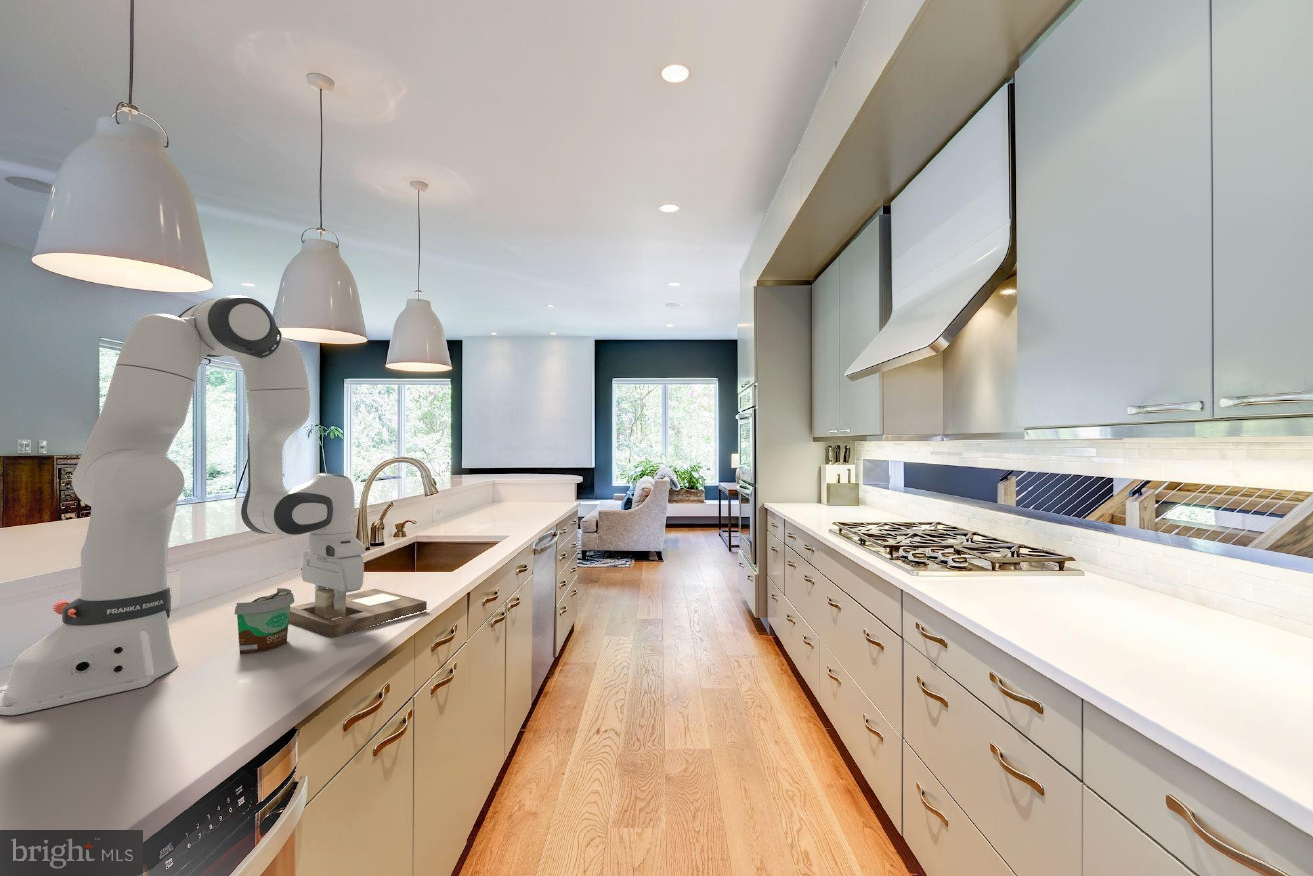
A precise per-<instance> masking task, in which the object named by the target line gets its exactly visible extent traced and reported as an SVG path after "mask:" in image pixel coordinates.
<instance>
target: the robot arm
mask: <svg viewBox="0 0 1313 876" xmlns="http://www.w3.org/2000/svg"><path fill="white" fill-rule="evenodd" d="M282 336H283V335H282V331H281V330H280V329H279V327H278V326H277V323H276V320H275V318H274V316H273V314H272V313H271V311H270V310H269V309H268V307H266V306H265V305H264V303H262V302H260V301H259V300H257V299H254V298H253V297H252V298H251V297H248V296H242V295H228V296H224V297H221V298H220V297H219V298H218V297H217V298H211V299H208V300H204V301H202V302H200V303H198V304H195V305H193V306H191V307H188V308H186V310H184V311H183V312H182V313H180V314H179V315H178V316H175V315H171V314H166V313H149V314H147V315H143V316H142V317H140V318H138V319H137V320H136V322H135V323H134V324H133V326H132V328H131V329H130V330H129V333H128V334H127V336H126V338H125V341H124V342H123V345H122V347H121V349H120V351H119V354H118V357H117V360H116V363H115V367H114V370H113V373H112V377H111V380H110V383H109V386H108V390H107V393H106V397H105V400H104V403H103V406H102V410H101V412H100V414H99V417H98V419H97V420H96V422H95V424H94V427H93V429H92V431H91V432H90V435H89V438H88V439H87V441H86V443H85V446H84V448H83V451H82V453H81V456H80V458H79V461H78V463H77V466H76V468H75V469H74V471H73V473H72V477H71V485H72V489H73V491H74V494H75V495H76V496H77V497H78V499H79V500H80V501H81V502H82V503H84V504H86V505H87V506H89V507H91V508H90V510H91V511H90V517H89V523H88V526H87V532H86V536H85V539H84V542H83V543H84V544H83V546H82V547H81V550H80V581H79V583H80V584H79V586H80V587H79V591H80V592H79V593H80V594H79V597H78V598H76V599H74V600H73V601H71V602H69V601H67V600H59V601H57V602H55V604H54V605H53V607H52V611H53V612H55V613H56V614H58V615H61V616H62V617H61V618H62V619H61V621H62V622H61V623H63V624H61V625H60V626H58V627H57V628H55V629H54V630H52V631H50V633H48V634H47V635H45V636H44V637H43V638H41V639H40V640H38V641H37V642H35V643H34V644H33V645H31V646H29V647H28V648H26V649H25V650H23V651H22V652H20V654H18V656H17V657H16V659H15V660H14V662H13V665H12V666H11V669H10V673H9V677H8V681H7V684H6V685H2V686H0V715H2V716H15V715H22V714H27V713H32V712H36V711H41V710H43V709H48V708H49V709H50V708H53V707H58V706H63V705H67V704H72V703H76V702H81V701H85V700H90V699H94V698H99V697H103V696H108V695H113V694H116V693H121V692H125V691H130V690H131V691H132V690H134V689H138V688H143V687H146V686H148V685H150V684H152V683H153V682H154V680H156V679H158V678H159V677H162V676H164V675H165V674H168V673H169V672H172V671H173V670H174V669H176V668H177V666H178V664H179V661H178V660H177V657H176V654H175V652H174V649H173V644H172V639H171V638H172V637H171V633H170V627H169V625H170V624H169V618H170V617H171V611H172V594H171V588H170V587H169V586H168V563H169V561H168V559H169V558H168V557H169V556H168V555H169V544H170V543H169V542H170V537H171V536H170V535H171V532H172V527H173V523H174V519H175V516H176V510H177V507H178V506H177V505H178V501H179V498H180V496H181V494H182V493H183V491H184V488H185V477H184V473H183V471H182V470H181V468H180V467H179V466H178V465H177V463H176V462H174V461H173V460H172V459H170V458H169V457H168V456H167V454H168V452H169V450H170V448H171V446H172V444H173V442H174V440H175V439H176V436H177V435H178V433H179V431H181V429H182V428H183V426H184V425H185V422H186V418H187V416H188V412H189V407H190V405H191V401H192V396H193V393H194V389H195V385H196V381H197V377H198V373H199V367H200V366H201V364H202V362H203V360H204V359H205V358H206V357H207V358H219V357H224V356H226V357H234V359H235V360H236V361H237V362H238V363H239V365H240V366H241V368H242V371H243V374H244V376H245V377H244V378H245V379H244V380H245V391H246V402H247V403H246V404H247V414H248V425H247V427H248V428H247V447H246V448H247V488H246V489H247V490H246V493H245V496H244V499H243V501H242V505H241V509H240V515H241V519H242V522H243V523H244V525H245V526H246V527H247V528H248V529H249V530H250V531H252V532H253V533H254V532H255V533H258V534H262V535H267V534H268V535H270V534H272V535H273V534H275V535H281V536H282V535H283V536H300V535H303V534H307V533H309V535H308V546H307V548H306V550H305V551H304V553H303V557H302V565H301V575H300V576H301V579H302V581H303V582H305V583H308V584H311V585H312V584H313V585H314V591H316V590H321V589H326V588H330V589H334V594H335V597H334V600H333V601H332V608H333V609H341V608H342V607H343V600H344V597H345V595H347V593H351V592H353V593H354V592H356V591H360V590H361V588H362V586H363V584H364V577H365V576H364V575H365V573H364V571H365V562H364V558H363V555H365V554H366V545H365V544H364V543H362V542H361V540H359V539H358V538H357V537H356V536H355V527H354V524H353V523H354V522H353V517H354V514H355V509H356V508H355V504H356V503H355V502H356V501H355V500H356V499H355V488H354V485H353V481H352V479H350V477H348V476H346V475H343V474H337V473H328V472H319V473H316V474H314V475H313V477H311V478H310V479H309V480H307V481H305V482H303V483H301V484H299V485H297V486H294V487H290V489H287V488H286V487H285V484H284V481H283V480H284V479H283V451H284V446H285V443H286V442H287V440H289V438H290V436H291V435H292V434H294V433H295V432H296V431H298V430H299V429H301V427H303V426H304V425H305V423H306V422H307V421H308V420H309V417H310V410H311V395H310V387H309V379H308V375H307V369H306V364H305V361H304V358H303V354H302V352H301V349H300V347H299V346H298V345H297V344H296V343H295V342H294V341H292V340H290V339H287V338H285V337H282Z"/></svg>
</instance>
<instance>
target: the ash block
mask: <svg viewBox="0 0 1313 876" xmlns="http://www.w3.org/2000/svg"><path fill="white" fill-rule="evenodd" d="M346 595H347V594H346ZM346 595H345V597H344V600H343V607H342V608H341V609H333V608H332V601H333V600H334V597H335V594H334V589H330V588H326V589H321V590H314V602H315V614H316V615H319V616H322V617H325V618H328V619H332V620H333V619H337V618H341V617H344V616H346Z"/></svg>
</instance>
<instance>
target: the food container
mask: <svg viewBox="0 0 1313 876" xmlns="http://www.w3.org/2000/svg"><path fill="white" fill-rule="evenodd" d="M294 603H295V597H294V594H293V592H292V590H291V589H289V588H284V587H282V588H281V587H280V588H279V587H277V588H276V592H275V593H272V594H270V595H267V596H260V597H257V598H256V599H254V600H252V601H249V602H236V606H235V607H234V608H235V609H234V615H236V620H237V632H238V633H237V634H238V647H239V649H238V650H239V655H250V653H251V654H258V653H262V652H263V653H264V652H267V651H272V650H275V649H277V648H281V647H282V646H284V645H286V643H287V641H288V634H289V633H288V632H289V623H290V622H289V614H290V607H291V605H293V604H294ZM257 652H258V653H257Z"/></svg>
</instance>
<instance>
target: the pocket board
mask: <svg viewBox="0 0 1313 876" xmlns="http://www.w3.org/2000/svg"><path fill="white" fill-rule="evenodd" d="M427 604H428V603H427V600H422V599H418V598H414V597H412V596H406V595H402V594H398V593H394V592H393V593H392V592H390V591H386V590H383V589H379V588H372V589H367V590H364V591H363V590H362V591H358V592H353V593H348V594H346V616H344V617H339V618H335V619H328V618H325V617H322V616H319V615H316V614H315V601H312V602H307V603H302V604H298V605H293V606H290V614H289V623H291V624H294V625H296V626H298V627H302V628H305V629H307V630H311V631H312V632H316V633H319V634H321V635H323V636H324V635H325V636H327V637H330V638H336V637H340V636H342V635H343V636H344V635H347V634H350V632H351V633H353V632H352V631H354V632H358V631H361V630H360V629H362V630H365V629H367V628H366V627H369V628H371V627H370V626H373V625H376V626H378V625H377V624H380V625H382V624H381V623H383V622H386V621H388V620H393V619H395V618H399V617H401V616H406V615H409V614H414V613H417V612H422V611H424V610H427V609H428V607H427ZM373 627H374V626H373ZM364 628H365V629H364ZM346 633H347V634H346ZM339 635H340V636H339Z"/></svg>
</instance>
